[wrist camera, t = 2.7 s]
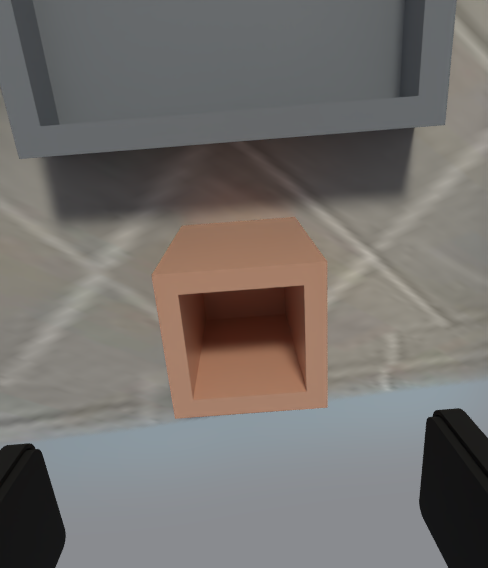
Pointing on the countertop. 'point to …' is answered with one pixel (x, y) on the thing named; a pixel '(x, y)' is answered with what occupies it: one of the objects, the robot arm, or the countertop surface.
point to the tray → (218, 70)
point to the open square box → (243, 318)
